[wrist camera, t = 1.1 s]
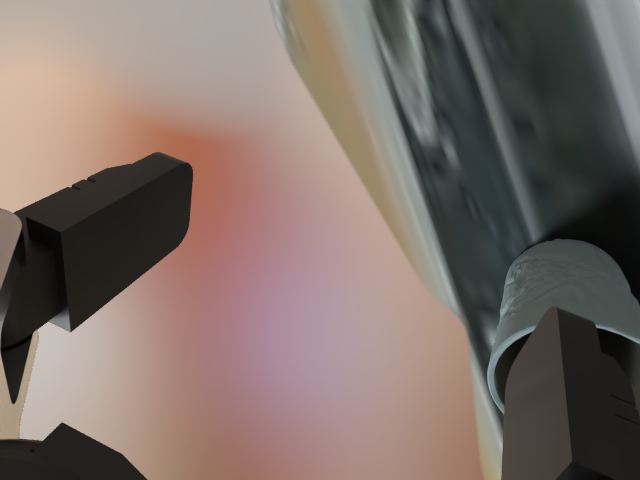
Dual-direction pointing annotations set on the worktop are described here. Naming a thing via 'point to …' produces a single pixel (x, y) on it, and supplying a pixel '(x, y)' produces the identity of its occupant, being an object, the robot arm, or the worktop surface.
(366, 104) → the worktop surface
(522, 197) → the worktop surface
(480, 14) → the worktop surface
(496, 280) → the worktop surface
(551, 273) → the grey green cup
